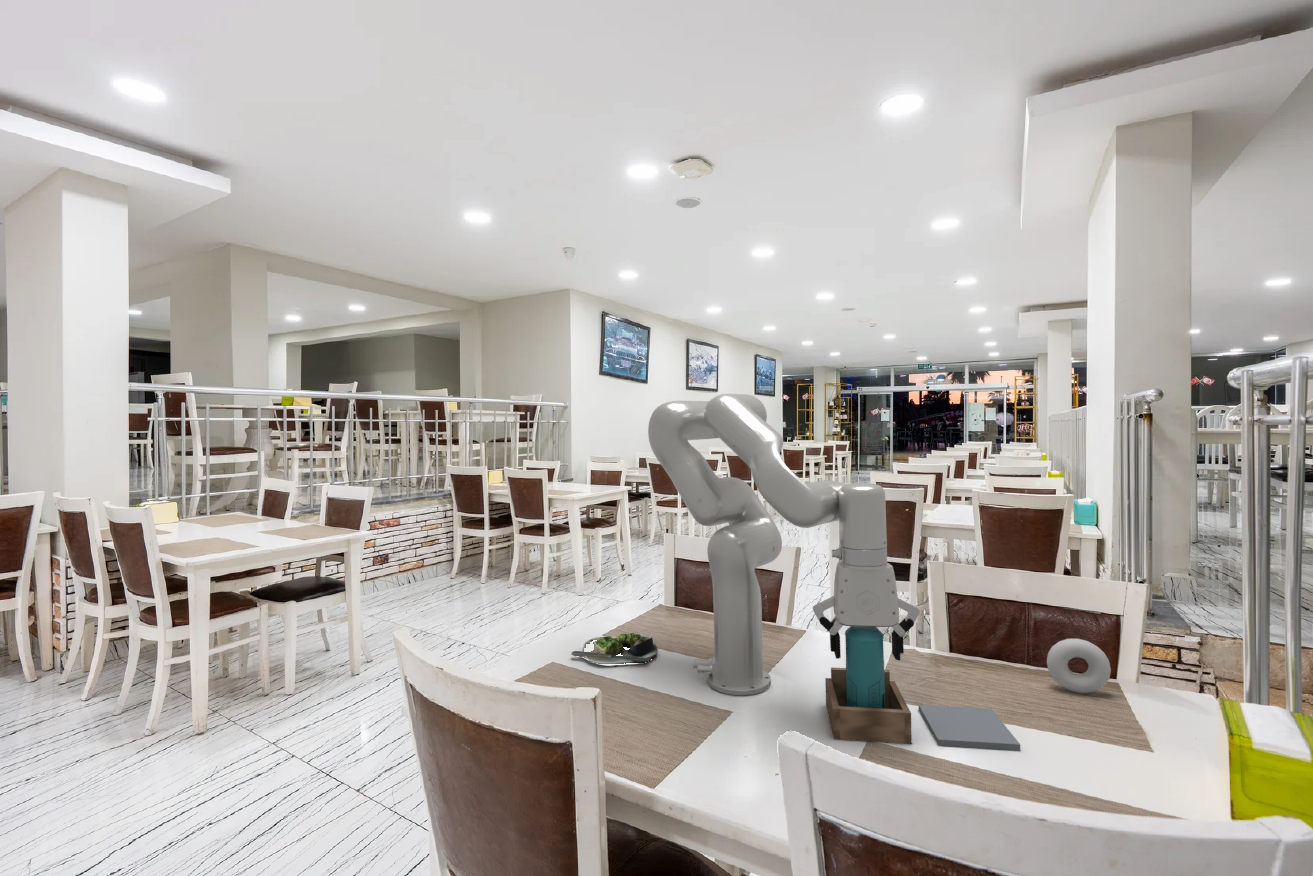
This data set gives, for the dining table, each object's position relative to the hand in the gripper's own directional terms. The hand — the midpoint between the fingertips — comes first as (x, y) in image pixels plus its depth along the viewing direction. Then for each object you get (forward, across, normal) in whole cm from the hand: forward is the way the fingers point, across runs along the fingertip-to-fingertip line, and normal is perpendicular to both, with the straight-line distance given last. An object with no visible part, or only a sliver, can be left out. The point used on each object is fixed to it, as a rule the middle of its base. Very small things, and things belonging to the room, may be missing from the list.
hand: (866, 656), depth 103 cm
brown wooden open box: (+12, 0, 0) cm, 12 cm away
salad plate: (+11, -49, +27) cm, 57 cm away
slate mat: (+12, +16, 0) cm, 20 cm away
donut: (+12, +41, +17) cm, 46 cm away
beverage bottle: (+12, 0, 0) cm, 12 cm away
